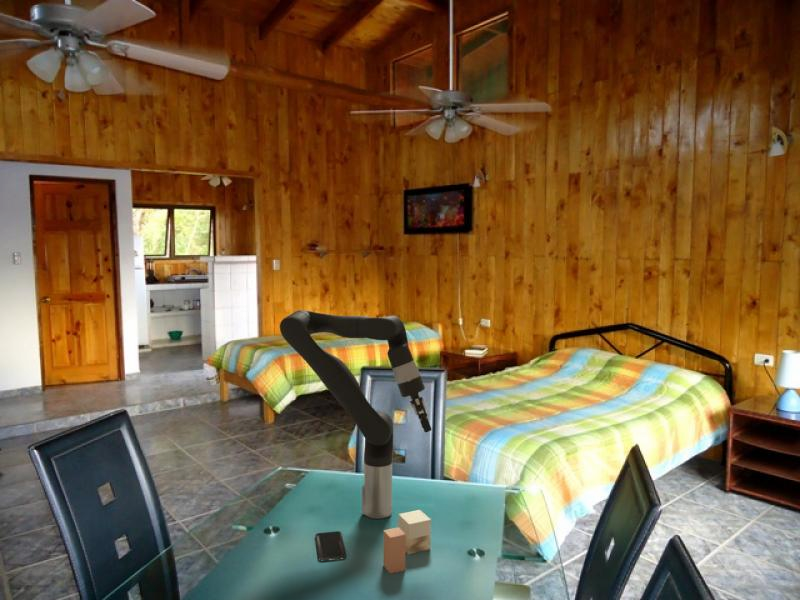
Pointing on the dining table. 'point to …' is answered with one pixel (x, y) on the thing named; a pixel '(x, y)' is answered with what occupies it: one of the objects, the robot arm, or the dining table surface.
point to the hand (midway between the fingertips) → (427, 429)
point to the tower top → (415, 524)
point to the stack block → (394, 550)
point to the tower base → (417, 544)
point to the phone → (330, 545)
